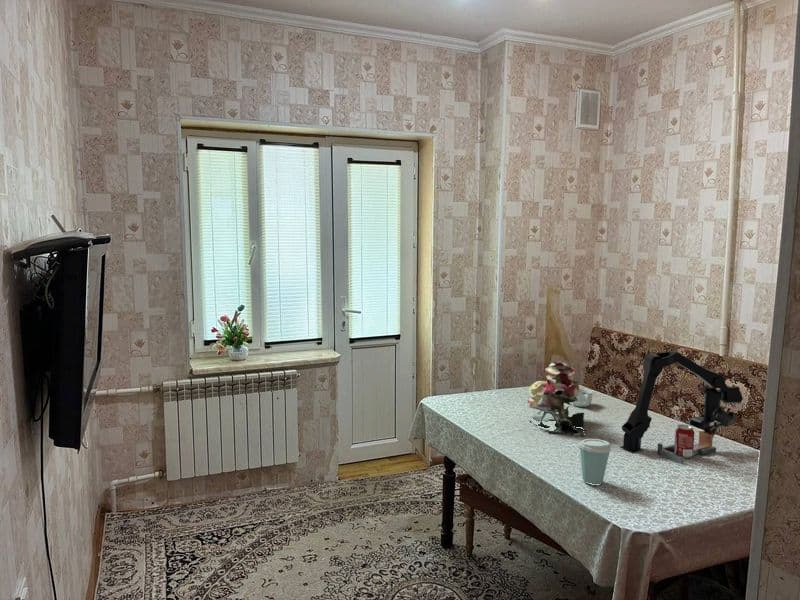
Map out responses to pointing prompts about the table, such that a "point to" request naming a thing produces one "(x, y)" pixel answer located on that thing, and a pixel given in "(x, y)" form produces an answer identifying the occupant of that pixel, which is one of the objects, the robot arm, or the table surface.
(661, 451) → the press fence
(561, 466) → the table surface
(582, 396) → the teacup
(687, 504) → the table surface
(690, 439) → the soda can
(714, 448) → the ram guide
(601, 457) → the disposable coffee cup
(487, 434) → the table surface
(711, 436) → the brown boxy piece
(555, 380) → the rose bouquet
